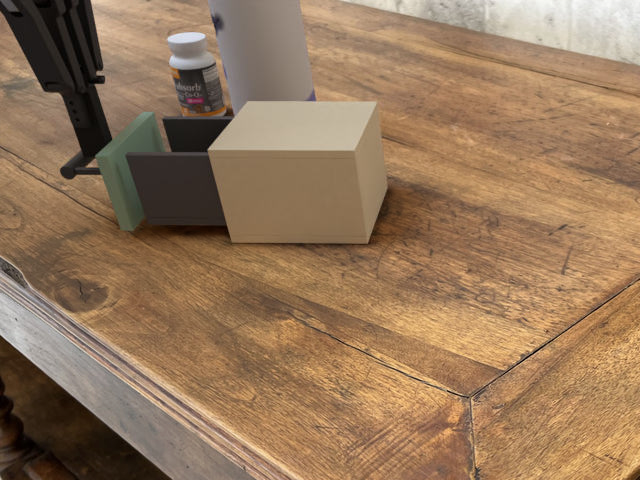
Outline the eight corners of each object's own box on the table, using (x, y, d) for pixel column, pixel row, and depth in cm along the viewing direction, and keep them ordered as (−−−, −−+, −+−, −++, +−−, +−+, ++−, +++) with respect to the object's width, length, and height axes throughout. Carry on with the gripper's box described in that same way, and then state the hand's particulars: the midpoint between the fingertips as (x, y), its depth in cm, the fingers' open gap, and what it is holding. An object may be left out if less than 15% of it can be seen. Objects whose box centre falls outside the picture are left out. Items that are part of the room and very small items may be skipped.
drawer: (65, 230, 79) (34, 155, 74) (113, 181, 88) (89, 111, 83) (245, 232, 79) (226, 156, 74) (276, 182, 88) (261, 111, 83)
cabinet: (231, 242, 79) (207, 149, 73) (266, 187, 89) (247, 101, 83) (367, 244, 78) (354, 150, 72) (387, 187, 88) (377, 101, 82)
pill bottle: (174, 121, 104) (152, 42, 98) (198, 106, 109) (178, 29, 102) (213, 125, 103) (193, 45, 97) (235, 109, 108) (218, 32, 101)
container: (236, 127, 102) (195, -46, 90) (314, 116, 105) (285, -54, 92) (244, 157, 95) (201, -28, 83) (328, 144, 98) (298, -37, 85)
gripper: (10, -110, 60) (109, 182, 75) (88, -132, 70) (161, 129, 85) (-87, -111, 60) (30, 181, 75) (4, -133, 70) (92, 128, 85)
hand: (100, 153), depth 80 cm, fingers closed
